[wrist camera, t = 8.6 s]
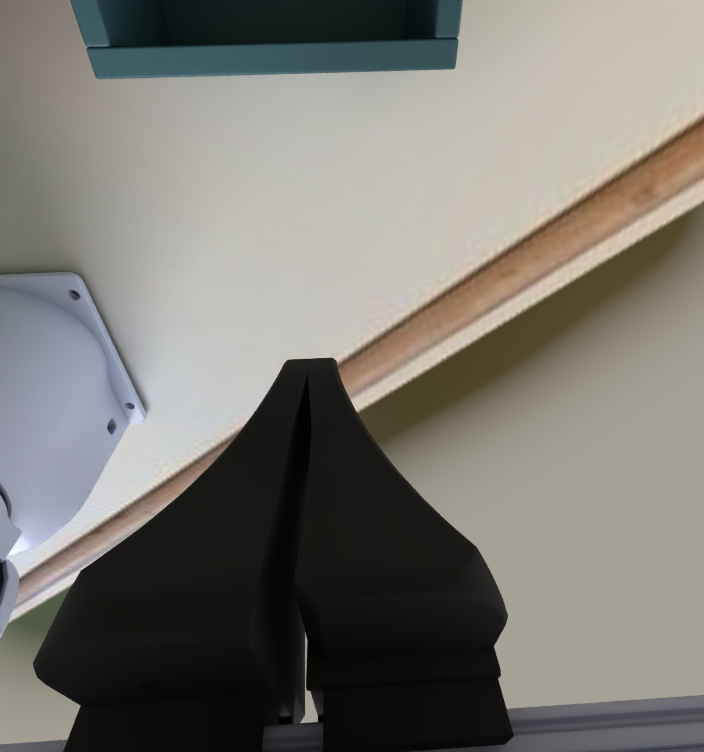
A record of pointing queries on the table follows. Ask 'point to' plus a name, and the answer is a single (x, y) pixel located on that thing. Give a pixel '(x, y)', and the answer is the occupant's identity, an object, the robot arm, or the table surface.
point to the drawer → (266, 36)
